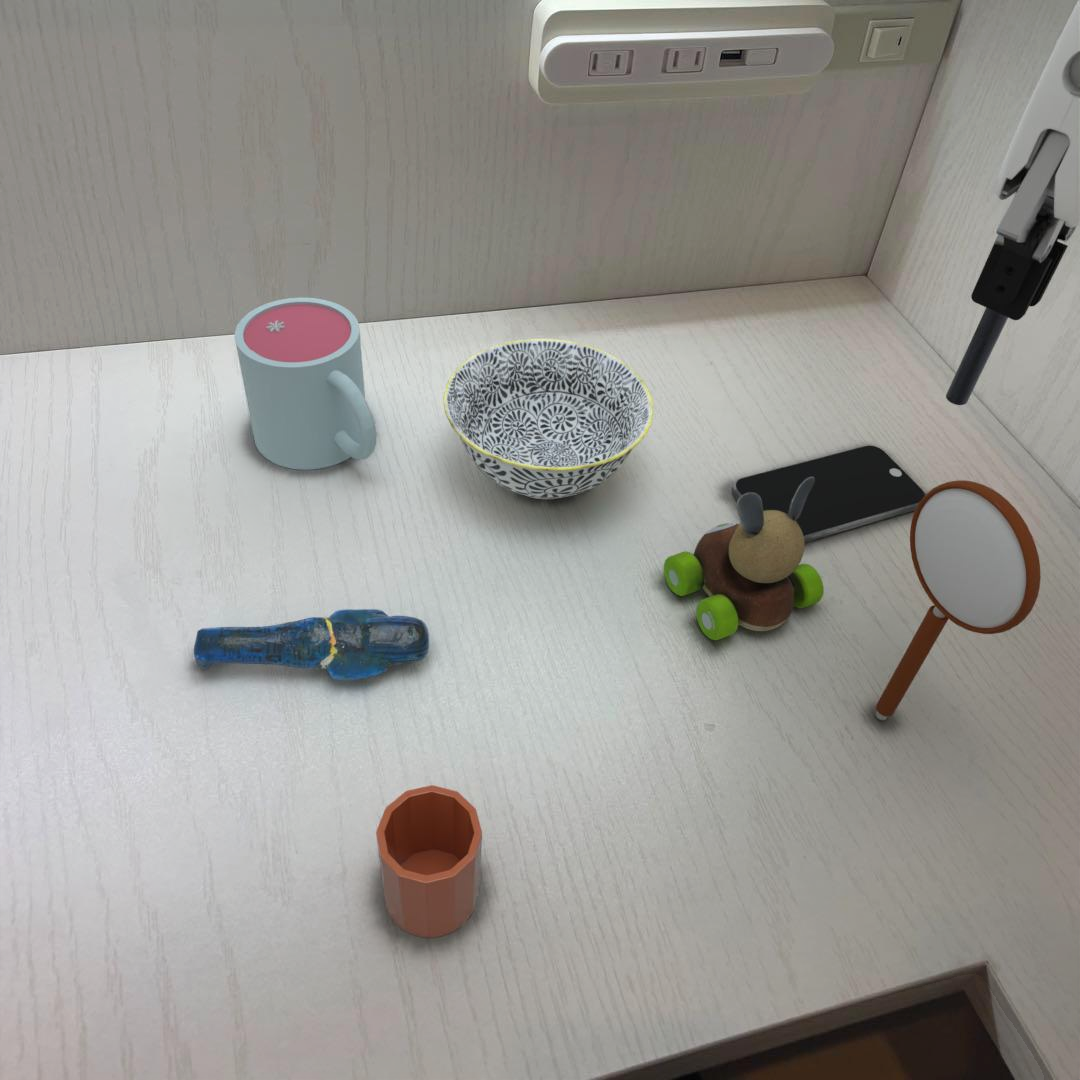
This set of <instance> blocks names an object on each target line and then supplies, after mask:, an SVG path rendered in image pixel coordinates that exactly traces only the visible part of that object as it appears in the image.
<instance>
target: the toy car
mask: <svg viewBox="0 0 1080 1080" xmlns="http://www.w3.org/2000/svg"><path fill="white" fill-rule="evenodd" d="M814 481H815V479H814V477H808V478H807V479H805V480H804V481H803V482H802V483H801V484H800V486H799V487H798V489H797V491H796V493H795V495H794V497H793V499H792V501H791V503H790V508H789V513H788V514H786V513H784V512H781V511H777V510H766V511H763V508H762V500H761V497H760V496H759V495H758V494H757V493H753V492H748V493H745V494H744V495H742V496H741V497H740V498H739V499H738V500H737V501H736V510H737V514H738V517H739V522H738V523H737V522H736V523H735V522H728V523H722V524H718V525H716V526H714V527H712V528H710V529H709V530H707V531H706V532H705V533H704V534H703V535H702V536H701V538H700V539H699V541H698V542H697V544H696V546H695V549H694V552H693V553H692V552H690V551H681V552H678V553H675V554H672V555H670V556H668V557H667V558H666V559H665V560H664V563H663V573H664V577H665V581H666V584H667V586H668V587H669V589H670V590H671V591H672V592H673V593H674V594H675V595H677V596H680V597H684V596H688V595H690V594H693V593H696V592H697V591H699V590H701V588H702V590H703V591H704V592H705V593H706V594H707V596H708V597H705V598H702V599H701V600H699V602H698V604H697V605H696V610H695V611H696V612H695V613H696V619H697V623H698V625H699V628H700V631H702V633H703V634H704V636H706V637H707V638H709V639H710V640H713V641H718V640H721V639H724V638H727V637H729V636H732V635H734V634H735V633H736V632H737V630H738V628H739V626H740V627H742V628H745V629H746V630H751V631H755V632H766V631H772V630H774V629H777V628H779V627H781V626H782V625H784V624H785V622H786V621H788V620H789V618H790V616H791V614H792V612H793V609H794V607H795V608H797V609H805V608H808V607H809V606H813V605H815V604H817V603H819V602H820V601H821V600H822V598H823V596H824V589H825V587H824V582H823V580H822V576H821V575H820V573H819V571H818V570H817V569H815V568H814V566H812V565H810V564H807V563H801V562H802V559H803V557H804V552H805V545H806V544H805V542H804V537H803V533H802V530H801V528H800V526H799V525H798V523H797V522H796V520H797V519H798V518H799V516H800V514H801V511H802V509H803V506H804V503H805V501H806V498H807V496H808V494H809V492H810V490H811V488H812V486H813V484H814Z"/></svg>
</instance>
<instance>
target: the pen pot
mask: <svg viewBox="0 0 1080 1080" xmlns="http://www.w3.org/2000/svg"><path fill="white" fill-rule="evenodd" d="M375 835H376V842H377V850H378V858H379V867H380V874H381V875H380V876H381V883H382V890H383V894H384V901H385V902H384V903H385V906H386V911H387V912H388V914H389V915H390V917H391V919H392V921H393V922H394V923H395V924H396V925H397V926H398V927H399V928H400V929H402V930H403V931H405V932H407V933H408V934H411V935H412V936H415V937H421V938H438V937H439V938H440V937H443V936H445V935H449V934H451V933H453V932H455V931H456V930H458V929H459V928H460V927H462V926H463V925H464V924H465V923H466V922H467V921H468V920H469V918H470V917H471V915H472V914H473V912H474V910H475V908H476V906H477V902H478V899H479V898H478V897H479V892H480V889H481V869H482V845H483V831H482V826H481V823H480V819H479V815H478V812H477V809H476V807H475V806H473V804H471V803H470V802H469V800H467V799H466V798H465V797H464V796H463V795H462V794H461V793H460V792H459V791H457V790H454V789H449V788H445V787H442V786H438V785H433V784H431V785H426V786H422V787H418V788H417V787H416V788H413V789H409V790H406V791H404V792H403V793H401V795H399V796H398V797H396V799H394V800H393V801H392V802H391V803H390V804H388V805H387V806H386V807H385V808H384V811H383V814H382V815H381V818H380V821H379V824H378V826H377V828H376V832H375Z"/></svg>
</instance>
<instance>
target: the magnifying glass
mask: <svg viewBox="0 0 1080 1080" xmlns="http://www.w3.org/2000/svg"><path fill="white" fill-rule="evenodd" d="M925 494H926V495H925V496H924V497H923V499H922V500H921V501H920V502H919V504H918V506H917V508H916V510H914V512H913V514H912V519H911V522H910V529H909V546H910V547H909V548H910V554H911V555H910V556H911V560H912V563H913V567H914V571H915V573H916V576H917V579H918V581H919V582H920V585H921V587H922V589H923V590H924V592H925V594H926V595H927V597H928V598H929V600H930V601H931V602H932V604H933V605H931V606H929V608H928V610H927V611H926V614H925V615H924V617H923V618H922V621H921V623H920V625H919V626H918V628H917V630H916V632H915V633H914V635H913V637H912V639H911V641H910V642H909V644H908V646H907V648H906V650H905V651H904V654H903V656H902V657H901V659H900V661H899V663H898V665H897V666H896V668H895V670H894V672H893V673H892V676H891V677H890V679H889V681H888V683H887V685H886V687H885V688H884V690H883V691H882V693H881V695H880V696H879V699H878V701H877V703H876V704H875V709H876V711H875V718H877V719H878V720H879V721H886V720H887V718H889V717H893V715H894V714H895V712H896V711H897V709H898V707H899V706H900V703H901V702H902V700H903V698H904V696H905V695H906V693H907V691H908V690H909V689H910V686H911V685H912V683H913V681H914V679H915V678H916V676H917V675H918V672H919V671H920V669H921V667H923V664H924V662H925V660H926V659H927V657H928V655H929V653H930V652H931V650H932V648H933V647H934V645H935V643H936V642H937V640H938V639H939V636H940V635H941V633H942V631H943V629H944V627H946V625H947V622H948V621H950V622H952V623H953V624H955V625H957V626H958V627H961V628H962V629H965V630H967V631H970V632H972V633H977V634H981V635H982V634H983V635H995V634H996V635H997V634H1001V633H1005V632H1007V631H1010V630H1012V629H1014V628H1015V627H1017V626H1019V625H1020V624H1021V623H1022V622H1024V621H1025V620H1026V618H1027V617H1028V616H1029V614H1030V613H1031V612H1032V610H1033V608H1034V606H1035V605H1036V602H1037V599H1038V597H1039V592H1040V587H1041V576H1042V575H1041V563H1040V555H1039V553H1038V548H1037V546H1036V542H1035V540H1034V537H1033V535H1032V533H1031V530H1030V528H1029V527H1028V524H1027V523H1026V522H1025V520H1024V518H1023V516H1022V515H1021V514H1020V513H1019V511H1018V509H1016V507H1015V506H1014V505H1012V503H1011V502H1010V501H1009V500H1008V499H1006V498H1005V497H1004V496H1003V495H1002V494H1000V493H999V492H997V491H996V490H995V489H993V488H991V487H989V486H987V485H985V484H982V483H979V482H976V481H971V480H966V479H965V480H962V479H961V480H958V479H957V480H951V481H946V482H944V483H941V484H939V485H936V486H934V487H933V488H932V489H930V490H929V491H928V492H927V493H925Z"/></svg>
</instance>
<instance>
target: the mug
mask: <svg viewBox="0 0 1080 1080" xmlns="http://www.w3.org/2000/svg"><path fill="white" fill-rule="evenodd" d="M360 331H361V330H360V324H359V321H358V319H357V317H356V316H355V315H354V313H353V312H352V311H350V310H349V309H347V308H346V307H344V306H342V305H340V304H338V303H336V302H334V301H330V300H326V299H322V298H315V297H289V298H283V299H278V300H274V301H270V302H267V303H264V304H262V305H260V306H257V307H256V308H254V309H252V310H251V311H249V312H248V313H247V314H246V315H243V317H242V318H241V319H240V320H239V322H238V324H237V325H236V328H235V331H234V342H235V346H236V353H237V356H238V361H239V368H240V372H241V373H240V374H241V378H242V382H243V387H244V393H245V398H246V402H247V403H246V404H247V408H248V413H249V419H250V423H251V429H252V434H253V439H254V443H255V447H256V449H257V451H258V452H259V454H261V456H263V457H264V458H265V459H266V460H268V461H270V462H271V463H273V464H274V465H277V466H280V467H283V468H287V469H292V470H300V471H302V470H303V471H310V470H321V469H324V468H329V467H333V466H336V465H339V464H341V463H344V462H345V461H347V460H349V459H350V458H353V459H356V460H365V459H367V458H369V457H370V456H371V455H372V454H373V453H374V452H375V448H376V445H377V430H376V429H377V427H376V422H375V420H374V416H373V413H372V411H371V409H370V406H369V404H368V402H367V400H366V390H365V378H364V367H363V355H362V343H361V332H360Z"/></svg>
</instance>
